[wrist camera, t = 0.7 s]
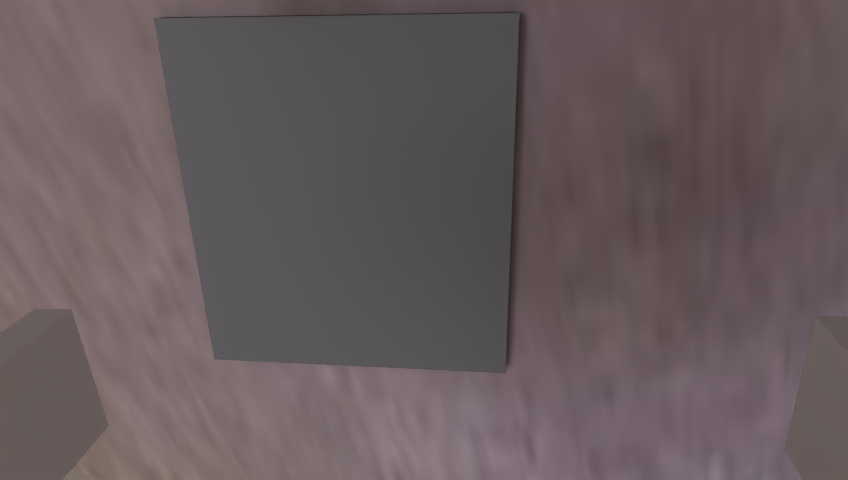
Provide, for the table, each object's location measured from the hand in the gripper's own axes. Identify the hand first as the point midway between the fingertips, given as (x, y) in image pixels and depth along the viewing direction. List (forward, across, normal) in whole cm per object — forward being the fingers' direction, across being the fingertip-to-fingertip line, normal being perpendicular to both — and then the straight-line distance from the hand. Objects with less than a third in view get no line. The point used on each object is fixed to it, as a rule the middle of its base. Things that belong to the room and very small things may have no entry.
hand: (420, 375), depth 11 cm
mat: (+22, -7, -4) cm, 24 cm away
